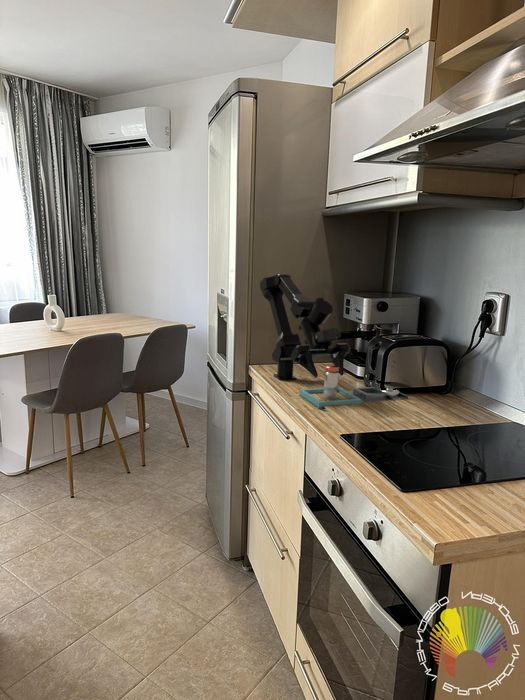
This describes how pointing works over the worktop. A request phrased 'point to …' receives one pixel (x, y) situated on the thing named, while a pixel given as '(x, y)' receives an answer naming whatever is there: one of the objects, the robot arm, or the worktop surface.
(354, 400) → the tray
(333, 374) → the pin
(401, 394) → the block
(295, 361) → the robot arm
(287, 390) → the worktop surface
